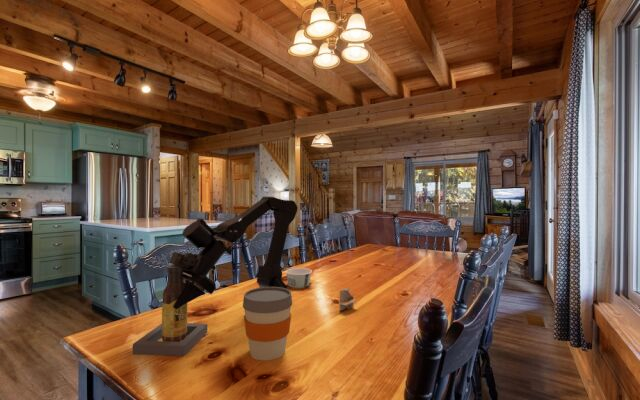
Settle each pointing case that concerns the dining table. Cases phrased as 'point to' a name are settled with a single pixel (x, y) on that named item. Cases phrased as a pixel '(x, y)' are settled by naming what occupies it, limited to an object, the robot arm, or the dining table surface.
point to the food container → (298, 277)
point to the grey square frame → (155, 347)
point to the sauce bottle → (171, 317)
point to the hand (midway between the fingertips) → (169, 305)
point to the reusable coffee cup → (267, 321)
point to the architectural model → (346, 299)
